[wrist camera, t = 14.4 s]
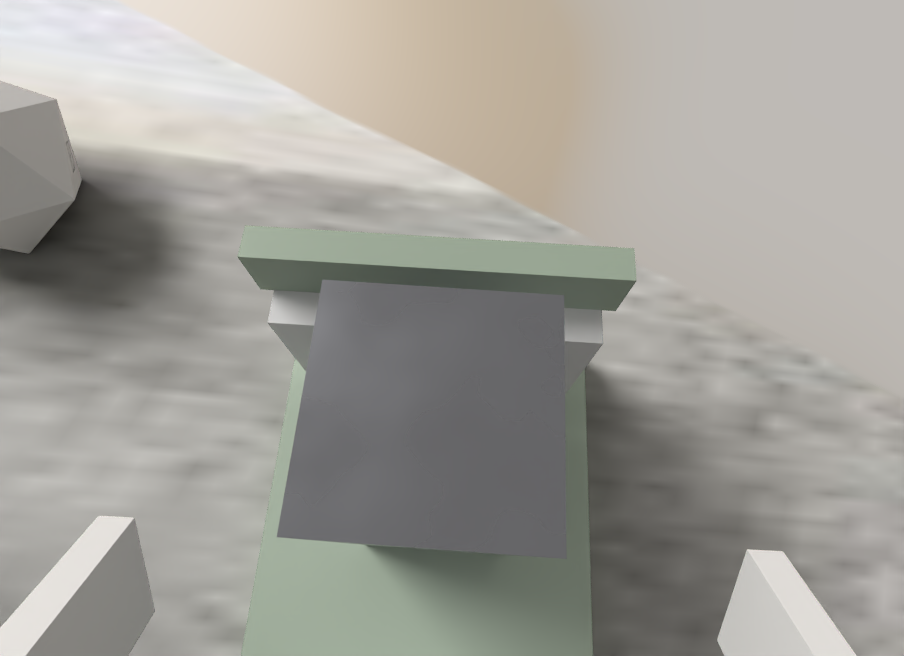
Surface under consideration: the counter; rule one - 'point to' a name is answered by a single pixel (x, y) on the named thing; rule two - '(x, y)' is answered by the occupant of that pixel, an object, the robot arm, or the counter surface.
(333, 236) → the vise bed
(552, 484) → the steel block
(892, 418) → the counter surface
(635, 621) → the counter surface
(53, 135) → the die
